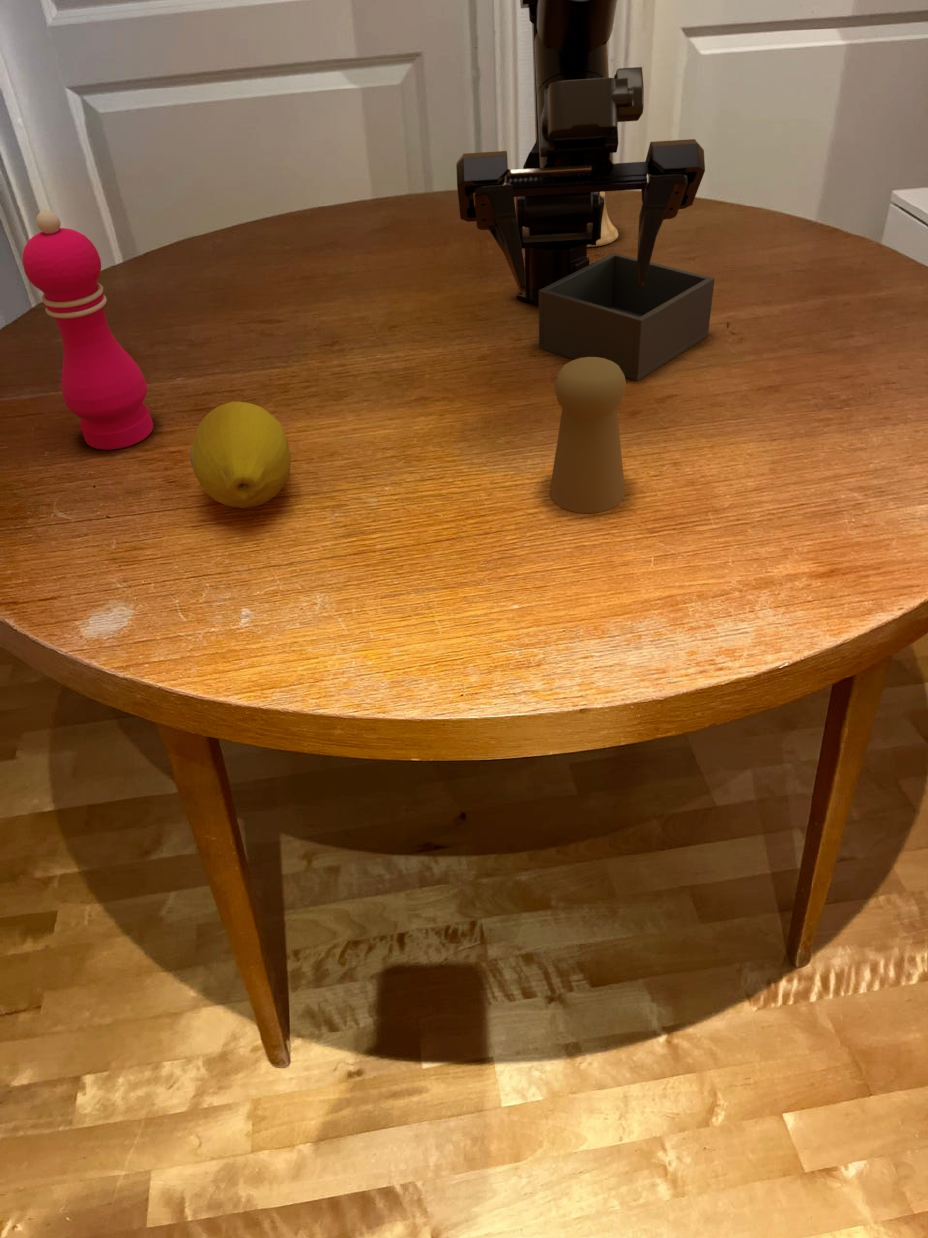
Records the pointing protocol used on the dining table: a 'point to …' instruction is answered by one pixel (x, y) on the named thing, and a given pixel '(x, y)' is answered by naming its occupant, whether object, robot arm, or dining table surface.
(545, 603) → the dining table surface
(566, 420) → the cork
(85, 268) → the pepper mill
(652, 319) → the open box
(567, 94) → the robot arm
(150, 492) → the dining table surface
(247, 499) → the lemon
